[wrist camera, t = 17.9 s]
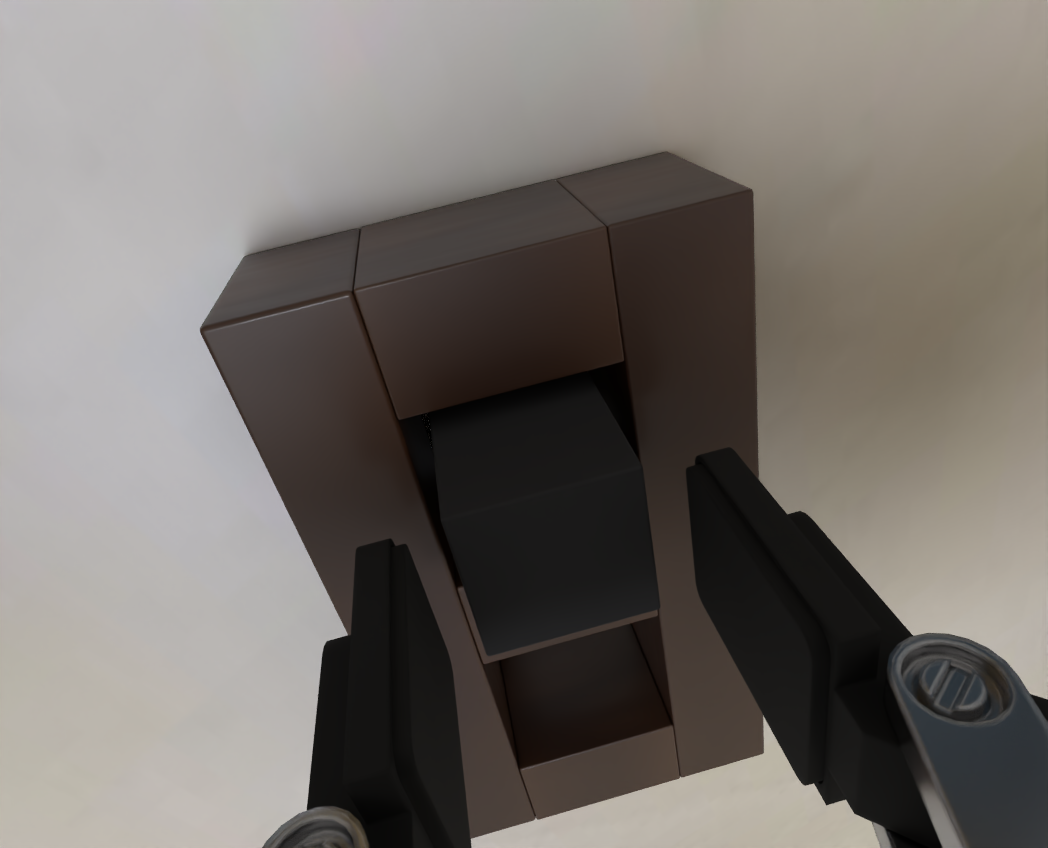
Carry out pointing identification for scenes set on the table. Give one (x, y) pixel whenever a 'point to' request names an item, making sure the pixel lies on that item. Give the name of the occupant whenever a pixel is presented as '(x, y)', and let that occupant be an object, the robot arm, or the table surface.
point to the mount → (501, 366)
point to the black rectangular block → (544, 512)
